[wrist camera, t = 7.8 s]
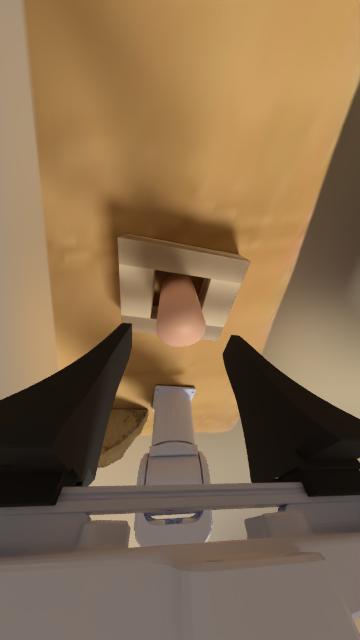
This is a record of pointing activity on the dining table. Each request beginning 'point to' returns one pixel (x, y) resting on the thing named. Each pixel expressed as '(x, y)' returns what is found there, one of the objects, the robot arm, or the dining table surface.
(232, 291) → the socket block
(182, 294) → the peg
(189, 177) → the dining table surface
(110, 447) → the rock
